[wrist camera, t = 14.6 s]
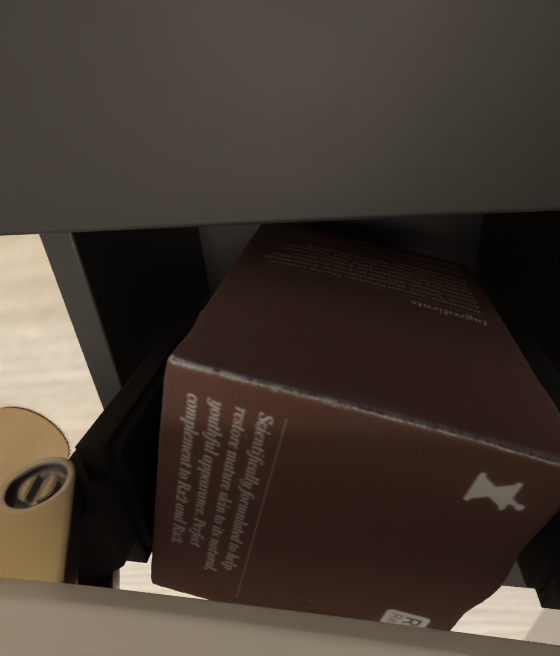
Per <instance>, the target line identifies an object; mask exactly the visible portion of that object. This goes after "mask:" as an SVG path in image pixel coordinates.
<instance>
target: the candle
mask: <svg viewBox="0 0 560 656" xmlns="http://www.w3.org/2000/svg"><path fill="white" fill-rule="evenodd" d="M68 453H69V451H68V446H67V443H66V441H65V439H64V437H63V436H62V434H61V433H60V432H59V431H58V430H57V428H56V427H55V426H53V425H52V424H51V423H50V422H48V421H47V420H46V419H44V418H43V417H41V416H39V415H37V414H35V413H33V412H30V411H27V410H23V409H18V408H5V409H1V410H0V487H1V486H2V485H3V484H4V483H5V481H6V480H7V479H8V478H9V477H10V476H11V475H13V474H14V473H15V472H16V471H18V470H19V469H21V468H23V467H24V466H26V465H28V464H30V463H32V462H35V461H37V460H40V459H43V458H48V457H64V458H68Z"/></svg>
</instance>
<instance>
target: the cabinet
mask: <svg viewBox="0 0 560 656" xmlns="http://www.w3.org/2000/svg"><path fill="white" fill-rule="evenodd" d="M539 211H560V0H0V236H3V235H26V234H48V233H70V232H93V231H115V230H137V229H160V228H182V227H204V226H227V225H249V224H271V223H294V222H316V221H338V220H361V219H383V218H405V217H428V216H450V215H472V214H495V213H517V212H539Z"/></svg>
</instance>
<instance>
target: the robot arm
mask: <svg viewBox="0 0 560 656" xmlns="http://www.w3.org/2000/svg"><path fill="white" fill-rule="evenodd" d="M183 340H184V337H162V338H161V339H160V340H159V341H158V342H157V343H156V345H155V346H154V347H153V349H152V350H151V351H150V352H149V354H148V355H147V356H146V357H145V359H144V360H143V361H142V363H141V364H140V365H139V366H138V368H137V369H136V370H135V371H134V373H133V374H132V375H131V377H130V378H129V379H128V380H127V382H126V383H125V384H124V385H123V387H122V388H121V389H120V391H119V392H118V393H117V394H116V396H115V397H114V398H113V399H112V401H111V402H110V403H109V405H108V406H107V407H106V408H105V410H104V411H103V412H102V413H101V415H100V416H99V417H98V419H97V420H96V421H95V422H94V424H93V425H92V426H91V427H90V429H89V430H88V431H87V433H86V434H85V435H84V436H83V438H82V439H81V440H80V441H79V443H78V444H77V445H76V447H75V448H76V451H75V452H74V453H73V454H72V456H71V457H70V458H69V459H67V458H64V457H48V458H43V459H40V460H37V461H35V462H32V463H30V464H28V465H26V466H24V467H23V468H21V469H19V470H18V471H16V472H15V473H14V474H13V475H11V476H10V477H9V478H8V479H7V480H6V481H5V483H4V484H3V485H2V486H1V487H0V656H560V646H558V645H552V644H545V643H537V642H529V641H522V640H514V639H507V638H499V637H492V636H484V635H476V634H469V633H461V632H454V631H446V630H439V629H431V628H423V627H416V626H408V625H401V624H393V623H385V622H378V621H370V620H362V619H354V618H346V617H338V616H330V615H323V614H315V613H307V612H299V611H291V610H283V609H275V608H267V607H259V606H251V605H243V604H235V603H227V602H219V601H211V600H203V599H195V598H187V597H178V596H170V595H162V594H153V593H145V592H137V591H129V590H120V572H119V568H121V567H123V566H124V564H125V562H126V561H134V562H143V563H147V561H148V559H149V557H150V555H151V552H152V545H153V532H154V514H155V497H156V485H157V468H158V449H159V433H160V423H161V410H162V400H163V381H164V375H165V369H166V364H167V360H168V357H169V356H170V355H171V354H172V352H173V351H174V350H175V348H176V347H177V346H178V345H179V344H180V343H181V342H182V341H183ZM514 341H515V343H516V344H517V346H518V347H519V349H520V351H521V353H522V355H523V357H524V358H525V359H526V361H527V362H528V364H529V366H530V368H531V369H532V371H533V373H534V374H535V376H536V378H537V380H538V381H539V383H540V384H541V385H542V387H543V388H544V390H545V391H546V392H547V394H548V395H549V397H550V398H551V400H552V401H553V403H554V404H555V406H556V408H557V410H558V412H559V413H560V375H559V374H558V372H557V371H556V369H555V368H554V366H553V365H552V364H551V362H550V361H549V359H548V358H547V356H546V355H545V353H544V352H543V351H542V349H541V348H540V346H539V345H538V343H537V342H536V341H535V340H514ZM516 560H517V563H518V566H519V569H520V572H521V575H522V578H523V580H524V582H525V584H526V586H527V587H530V588H535V590H536V592H537V595H538V598H539V601H540V604H541V607H542V608H550V609H558V610H560V510H559V511H558V512H557V513H556V514H555V515H554V516H553V517H552V518H551V519H550V520H549V521H548V522H547V524H546V525H545V526H544V527H543V528H542V529H541V530H540V531H539V532H538V533H537V534H536V535H535V536H534V537H533V538H532V539H531V540H530V541H529V543H528V544H527V545H526V546H525V547H524V548H523V550H522V551H521V552H520V554H519V555H518V557H517V558H516Z"/></svg>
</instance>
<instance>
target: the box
mask: <svg viewBox="0 0 560 656" xmlns="http://www.w3.org/2000/svg"><path fill="white" fill-rule="evenodd" d="M559 510H560V413H559V412H558V410H557V408H556V406H555V404H554V403H553V401H552V400H551V398H550V397H549V395H548V394H547V392H546V391H545V390H544V388H543V387H542V385H541V384H540V383H539V381H538V380H537V378H536V376H535V374H534V373H533V371H532V369H531V368H530V366H529V364H528V362H527V361H526V359H525V358H524V357H523V355H522V353H521V351H520V349H519V347H518V346H517V344H516V343H515V341H514V339H513V338H512V336H511V334H510V333H509V331H508V329H507V327H506V326H505V324H504V322H503V321H502V320H501V318H500V316H499V314H498V313H497V311H496V309H495V307H494V306H493V304H492V303H491V301H490V299H489V298H488V296H487V294H486V293H485V291H484V289H483V288H482V286H481V284H480V282H479V281H478V280H477V278H476V276H475V274H474V273H473V271H472V269H471V268H470V267H469V266H467V265H465V264H461V263H456V262H451V261H448V260H444V259H440V258H436V257H431V256H428V255H424V254H418V253H415V252H411V251H407V250H403V249H397V248H393V247H390V246H386V245H382V244H377V243H373V242H369V241H364V240H361V239H357V238H353V237H349V236H345V235H339V234H335V233H332V232H328V231H324V230H320V229H315V228H311V227H306V226H302V225H298V224H294V223H271V224H261V225H260V226H259V228H258V229H257V231H256V232H255V234H254V235H253V236H252V238H251V239H250V241H249V242H248V244H247V245H246V247H245V248H244V249H243V251H242V253H241V254H240V256H239V257H238V259H237V260H236V261H235V263H234V264H233V265H232V267H231V268H230V270H229V272H228V274H227V275H226V277H225V278H224V280H223V281H222V283H221V285H220V286H219V287H218V289H217V290H216V292H215V293H214V294H213V296H212V297H211V299H210V300H209V302H208V303H207V305H206V306H205V308H204V309H203V310H202V311H201V312H200V313H199V315H198V318H197V320H196V322H195V324H194V326H193V328H192V329H191V330H190V332H189V333H188V335H187V336H186V337H185V338H184V340H183V341H182V342H181V343H180V344H179V345H178V346H177V347H176V348H175V350H174V351H173V352H172V354H171V355H170V356H169V357H168V360H167V364H166V369H165V375H164V381H163V400H162V410H161V423H160V433H159V449H158V468H157V485H156V497H155V514H154V532H153V545H152V563H151V580H152V583H153V584H156V585H159V586H162V587H166V588H169V589H173V590H176V591H179V592H183V593H187V594H191V595H194V596H197V597H202V598H205V599H208V600H212V601H219V602H227V603H235V604H243V605H251V606H259V607H267V608H275V609H283V610H291V611H299V612H307V613H315V614H323V615H330V616H338V617H346V618H354V619H362V620H370V621H378V622H385V623H393V624H401V625H408V626H416V627H423V628H431V629H439V630H446V631H450V630H451V629H452V628H453V627H454V626H455V624H456V623H457V622H458V620H459V619H460V618H461V617H462V616H463V614H464V613H466V612H467V611H469V610H470V609H472V608H473V607H475V606H476V605H478V604H480V603H482V602H483V601H484V600H486V599H487V598H489V597H490V596H491V595H492V594H494V593H495V592H496V591H497V590H498V589H499V588H500V587H501V586H502V585H503V583H504V581H505V580H506V579H507V577H508V576H509V574H510V572H511V569H512V567H513V566H514V563H515V560H516V558H517V557H518V555H519V554H520V552H521V551H522V550H523V548H524V547H525V546H526V545H527V544H528V543H529V541H530V540H531V539H532V538H533V537H534V536H535V535H536V534H537V533H538V532H539V531H540V530H541V529H542V528H543V527H544V526H545V525H546V524H547V522H548V521H549V520H550V519H551V518H552V517H553V516H554V515H555V514H556V513H557V512H558V511H559Z"/></svg>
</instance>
